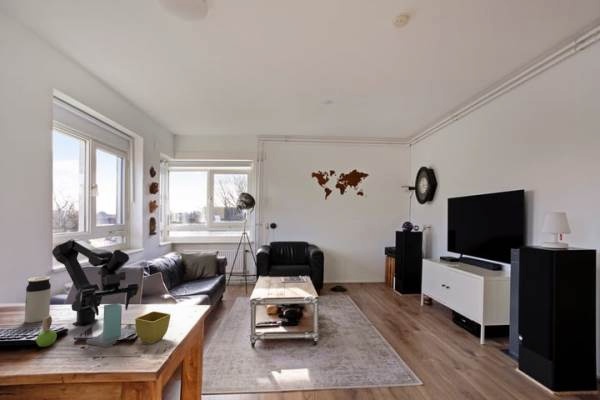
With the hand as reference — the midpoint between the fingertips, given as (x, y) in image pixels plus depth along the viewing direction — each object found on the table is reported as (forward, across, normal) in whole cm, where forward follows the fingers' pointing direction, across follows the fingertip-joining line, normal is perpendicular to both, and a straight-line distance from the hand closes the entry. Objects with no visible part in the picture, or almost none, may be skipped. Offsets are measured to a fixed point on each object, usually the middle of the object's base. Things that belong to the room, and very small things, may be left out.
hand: (112, 312), depth 108 cm
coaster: (+7, 0, +7) cm, 10 cm away
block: (+6, 0, +6) cm, 9 cm away
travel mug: (-23, -22, +37) cm, 49 cm away
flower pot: (+15, +11, -1) cm, 19 cm away
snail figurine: (+2, -19, +12) cm, 22 cm away
